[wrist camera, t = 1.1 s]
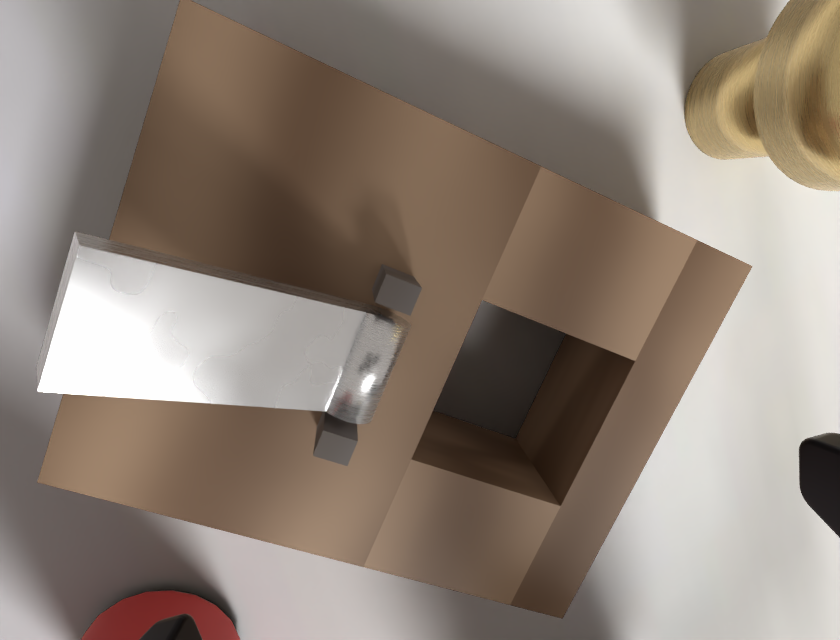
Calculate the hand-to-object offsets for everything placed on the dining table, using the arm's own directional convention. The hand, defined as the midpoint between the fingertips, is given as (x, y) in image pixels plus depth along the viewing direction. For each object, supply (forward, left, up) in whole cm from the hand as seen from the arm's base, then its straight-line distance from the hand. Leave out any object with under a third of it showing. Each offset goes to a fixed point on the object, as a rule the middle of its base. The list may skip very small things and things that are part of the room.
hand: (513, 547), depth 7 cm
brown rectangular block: (0, +1, -14) cm, 14 cm away
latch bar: (+5, +1, -7) cm, 9 cm away
